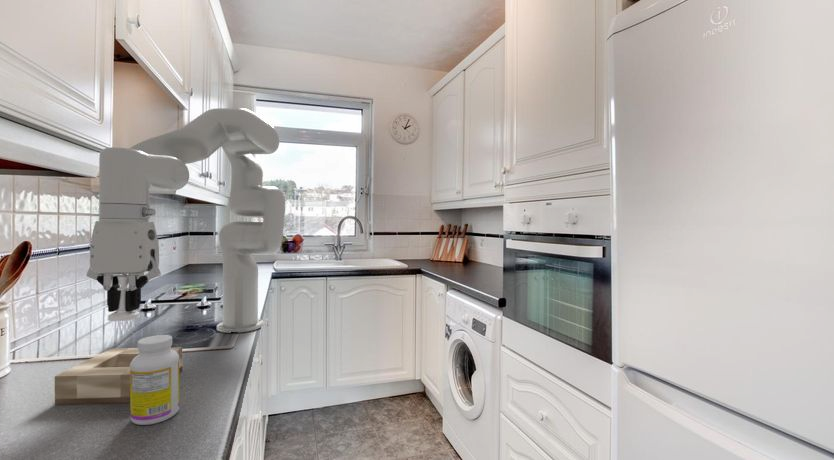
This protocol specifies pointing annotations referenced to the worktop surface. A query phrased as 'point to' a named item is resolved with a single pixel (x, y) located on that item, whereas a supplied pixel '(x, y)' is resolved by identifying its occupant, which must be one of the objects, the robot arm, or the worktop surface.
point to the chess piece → (123, 303)
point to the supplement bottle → (154, 381)
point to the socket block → (100, 378)
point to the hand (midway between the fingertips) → (124, 309)
